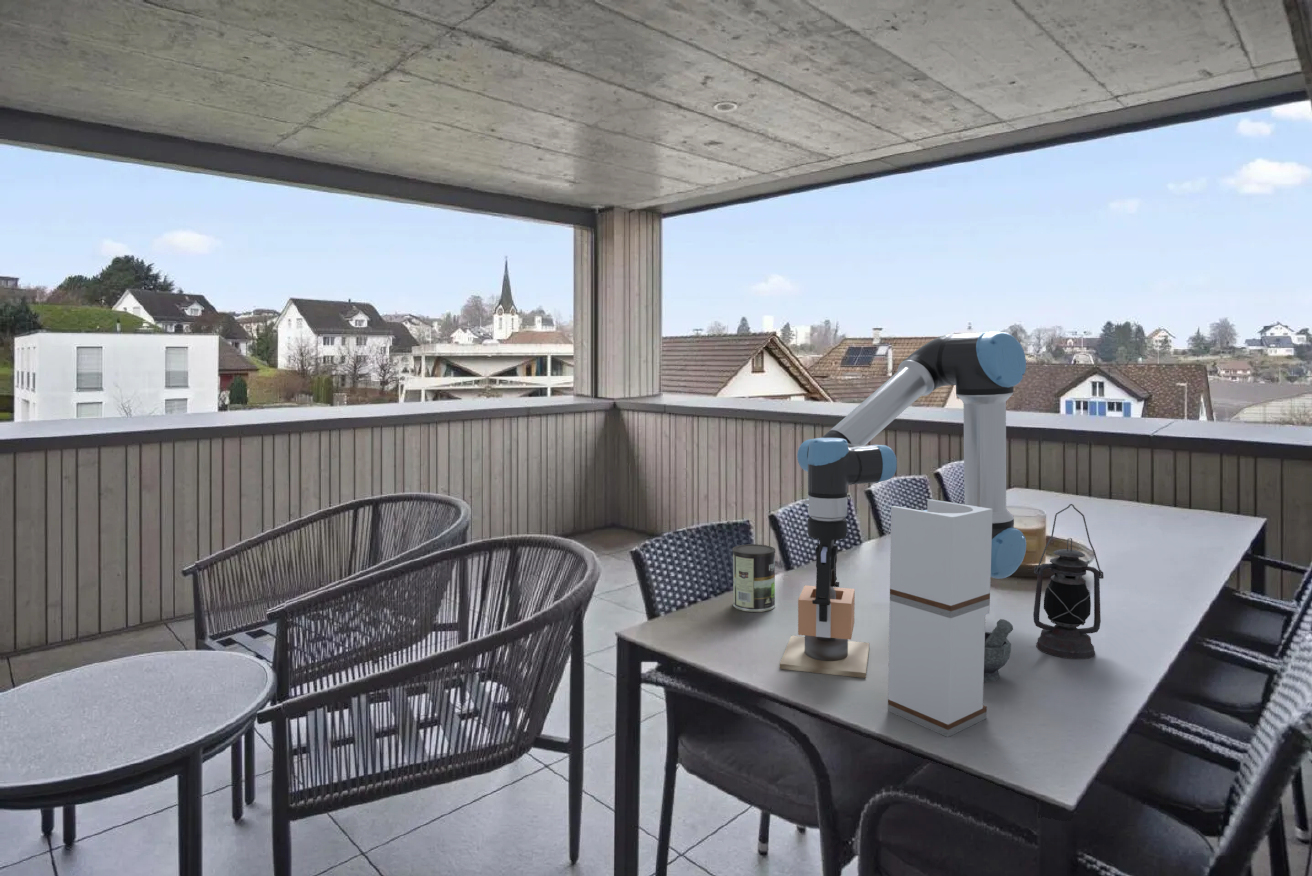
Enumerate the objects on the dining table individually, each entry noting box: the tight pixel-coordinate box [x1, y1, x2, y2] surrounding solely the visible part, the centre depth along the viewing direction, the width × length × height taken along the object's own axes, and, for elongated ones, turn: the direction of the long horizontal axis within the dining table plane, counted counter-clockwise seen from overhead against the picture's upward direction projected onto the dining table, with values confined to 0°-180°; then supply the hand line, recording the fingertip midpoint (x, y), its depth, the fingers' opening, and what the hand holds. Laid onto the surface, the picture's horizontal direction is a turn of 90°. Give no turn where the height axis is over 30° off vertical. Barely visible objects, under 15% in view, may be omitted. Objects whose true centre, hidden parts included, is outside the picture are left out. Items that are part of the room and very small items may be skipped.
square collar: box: [797, 584, 856, 641], centre depth 152 cm, size 10×10×7 cm
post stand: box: [779, 587, 870, 679], centre depth 152 cm, size 16×16×15 cm
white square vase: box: [887, 498, 993, 738], centre depth 126 cm, size 11×11×35 cm
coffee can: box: [731, 543, 776, 613], centre depth 186 cm, size 10×10×14 cm
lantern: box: [1032, 503, 1105, 660], centre depth 155 cm, size 12×11×30 cm
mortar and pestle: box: [983, 618, 1014, 683], centre depth 143 cm, size 11×9×12 cm
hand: (826, 627), depth 152 cm, fingers closed on square collar, 10 cm apart
